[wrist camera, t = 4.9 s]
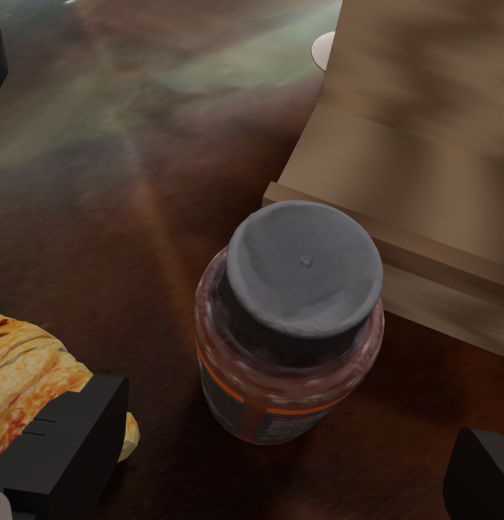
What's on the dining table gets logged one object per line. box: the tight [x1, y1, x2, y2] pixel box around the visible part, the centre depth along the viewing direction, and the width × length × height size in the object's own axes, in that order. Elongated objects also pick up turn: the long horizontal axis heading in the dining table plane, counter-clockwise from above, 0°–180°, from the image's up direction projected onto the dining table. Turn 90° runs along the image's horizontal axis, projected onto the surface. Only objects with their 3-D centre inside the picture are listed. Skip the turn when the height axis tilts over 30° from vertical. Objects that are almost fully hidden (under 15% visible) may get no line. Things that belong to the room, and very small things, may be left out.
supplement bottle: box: [193, 200, 385, 445], centre depth 15 cm, size 6×6×11 cm
